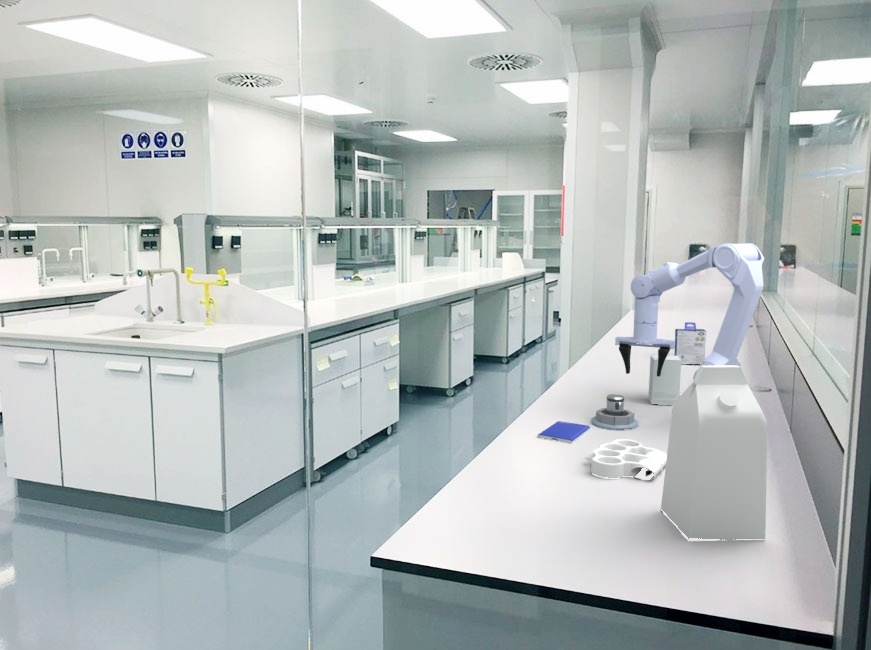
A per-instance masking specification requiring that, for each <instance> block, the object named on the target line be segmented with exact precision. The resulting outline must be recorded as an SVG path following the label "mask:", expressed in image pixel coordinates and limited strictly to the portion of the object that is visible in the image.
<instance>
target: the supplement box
mask: <svg viewBox="0 0 871 650" xmlns="http://www.w3.org/2000/svg"><path fill="white" fill-rule="evenodd" d="M649 360H650V361H649V378H648V379H649V380H648V384H649V385H648V396H647V397H648V398H649V399H648V400H649V402H650V405H652V404H658V405H657V406H666V405H672V406H671V407H673V406H674V403H675V402H676V400H677V399H678V398H679V397H680V389H681V373H682V372H681V369H682V364H681V360H680V358H679V357H678V356H674V355H671V354H670V355H669V354H668V355H667V357H666V359H665V361H664V364H663V367H662V370H661V375H660V377H659V376H657V368H658V354H651V355H650V359H649Z"/></svg>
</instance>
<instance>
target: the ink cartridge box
mask: <svg viewBox="0 0 871 650" xmlns="http://www.w3.org/2000/svg"><path fill="white" fill-rule="evenodd" d="M690 325H692V326H690ZM674 331H675V332H674V333H675V334H674V341H675V348H674V354H673V356H678V357H679V358H680V360H681V365H686V364H700V365H699V366H701V365H702V363H703V361H704V359H705V358H706V357H705V356H706V343H707V342H706V341H707V330H705V329H703V328H697V325H696V322H691V321H690V322H688V321H687V322H684V328H675V330H674Z"/></svg>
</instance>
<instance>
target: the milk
mask: <svg viewBox="0 0 871 650" xmlns="http://www.w3.org/2000/svg"><path fill="white" fill-rule="evenodd" d="M698 367H699V368H698V369H697V370H698V371H697V370H696V371H697V374H696V376H695V378H694V380H693V379H692V383H691V384H690V385H689V386H688V387H687V388H686V389H685V390H684V391H683V393H682V394H681V395H679V398H678V399H677V400H676V402H675V403H674V406H672V410H671V418H670V426H669V433H668V434H669V437H668V444H667V452H666V454H667V460H666V465H665V470H664V478H663V487H662V496H661V504H660V505H661V506H660V510H661V509H662V510H663V511H664V512H665V513H666V514H667V516H668V517H669V518H670V519H671V520H672V521H673V522H674V523H675V524H676V525H677V526H678V528H679V529H680V530H681V531H682V532H683V533H684V534H685V535H686V536H687V537H688V539H689V538H698V539H699V538H700V539H701V538H702V539H720V540H722V539H723V540H724V539H725V540H733V539H734V540H736V539H765V540H766V527H767V526H766V525H767V524H766V522H767V520H766V519H767V517H766V516H767V508H766V507H767V472H768V471H767V470H768V469H767V468H768V467H767V466H768V465H767V464H768V463H767V462H768V421H767V419H766V416H765V414H764V411H763V410H762V408H761V406H760V404H759V403H758V401H757V399H756V397H755V394H753V391H752V390H751V388H750V386H749V385H748V382H747V379H746V377H745V375H744V371H743V370H742V367H741V366H740V367H739V366H737V365H717V366H701V365H699V366H698Z"/></svg>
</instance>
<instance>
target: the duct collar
mask: <svg viewBox="0 0 871 650" xmlns="http://www.w3.org/2000/svg"><path fill="white" fill-rule="evenodd" d="M606 410H607V407H602V408H599V409H598V410H596V411H595V416H593V417H592V418H591V425H593V426H595V427H597V428H600V427H601V428H600V429H604V428H606V430H610V429H616V430H615V431H625V430H624V429H631V430H633V429H632V428H635V427H637V426H638V427H639V421H638V420H637V419H636V418H635V413H634V412H632V411H631V410H629V409H624V410H623V416H611V415H606ZM638 427H637V428H638ZM635 429H636V428H635Z"/></svg>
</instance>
